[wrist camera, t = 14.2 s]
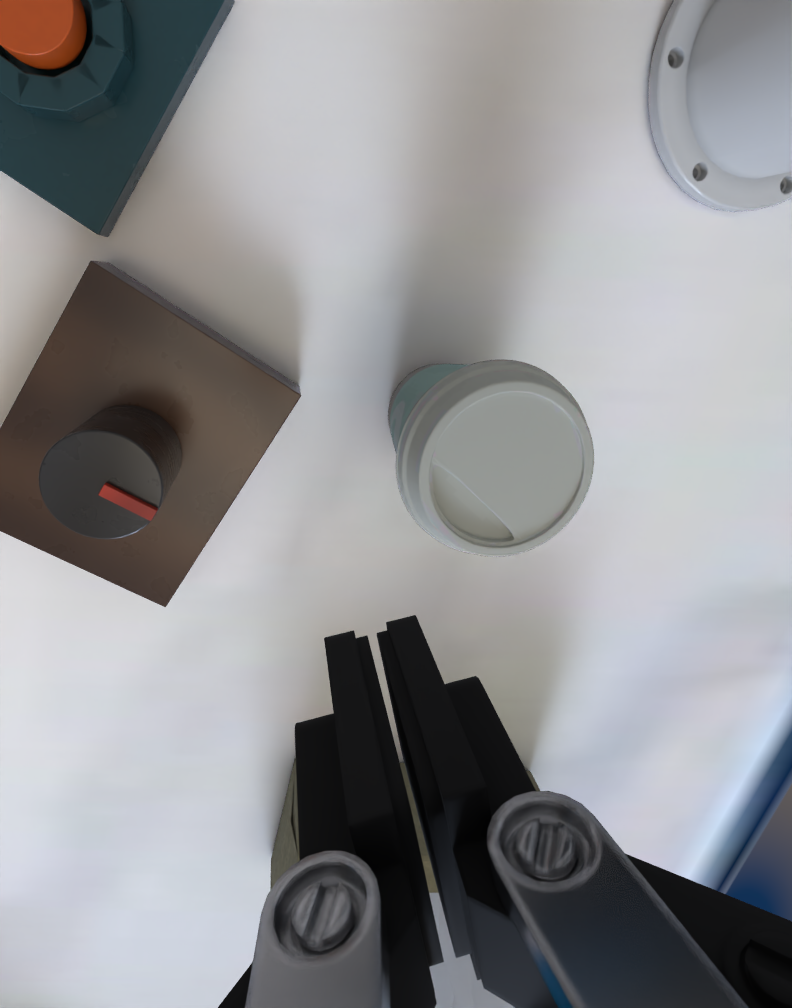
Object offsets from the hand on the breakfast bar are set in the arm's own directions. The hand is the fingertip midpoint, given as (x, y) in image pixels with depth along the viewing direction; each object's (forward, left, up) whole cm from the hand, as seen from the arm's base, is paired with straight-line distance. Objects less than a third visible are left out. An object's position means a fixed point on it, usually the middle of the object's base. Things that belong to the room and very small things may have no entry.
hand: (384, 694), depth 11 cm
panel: (+6, -7, -25) cm, 27 cm away
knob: (+6, -7, -22) cm, 24 cm away
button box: (-8, -18, -25) cm, 32 cm away
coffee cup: (-4, +6, -25) cm, 26 cm away
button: (-8, -18, -22) cm, 29 cm away
